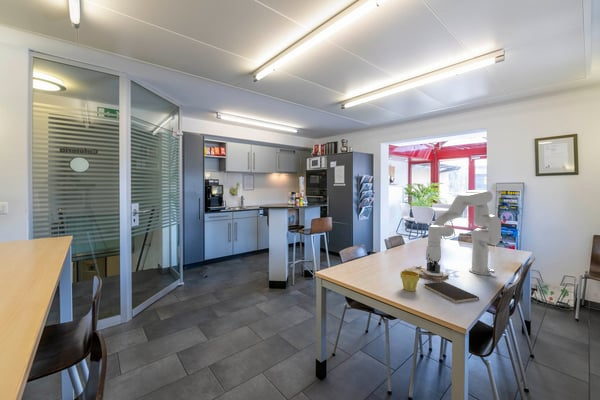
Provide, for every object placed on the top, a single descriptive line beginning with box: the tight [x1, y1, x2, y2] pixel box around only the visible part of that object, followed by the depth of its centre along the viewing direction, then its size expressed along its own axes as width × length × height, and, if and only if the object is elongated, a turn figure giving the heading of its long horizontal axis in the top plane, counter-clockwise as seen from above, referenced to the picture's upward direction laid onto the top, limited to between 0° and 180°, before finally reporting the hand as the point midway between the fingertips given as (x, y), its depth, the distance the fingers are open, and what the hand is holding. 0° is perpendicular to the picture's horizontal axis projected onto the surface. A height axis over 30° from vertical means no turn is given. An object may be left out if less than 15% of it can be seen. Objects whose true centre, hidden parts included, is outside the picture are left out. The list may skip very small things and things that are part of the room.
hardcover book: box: [423, 281, 480, 304], centre depth 146 cm, size 16×23×2 cm
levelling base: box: [403, 265, 449, 283], centre depth 176 cm, size 24×14×4 cm, turn 38°
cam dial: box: [420, 261, 444, 277], centre depth 173 cm, size 15×12×7 cm
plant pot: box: [399, 270, 420, 292], centre depth 151 cm, size 10×10×10 cm
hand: (433, 270), depth 172 cm, fingers closed on cam dial, 2 cm apart
